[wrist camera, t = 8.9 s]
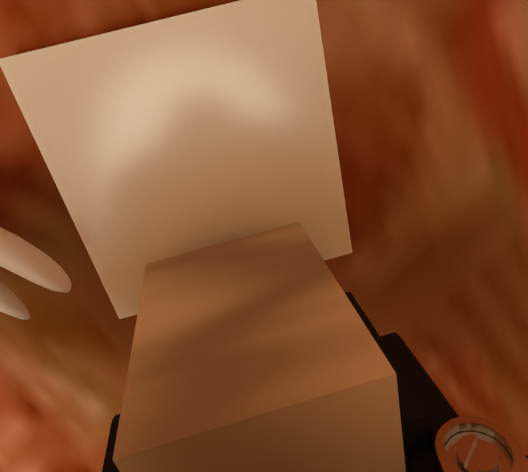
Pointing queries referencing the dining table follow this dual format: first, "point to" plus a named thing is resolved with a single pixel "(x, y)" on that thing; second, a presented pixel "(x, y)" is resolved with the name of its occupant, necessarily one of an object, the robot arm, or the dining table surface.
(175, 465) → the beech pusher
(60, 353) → the dining table surface
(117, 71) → the tile
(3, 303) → the cream plastic utensil
